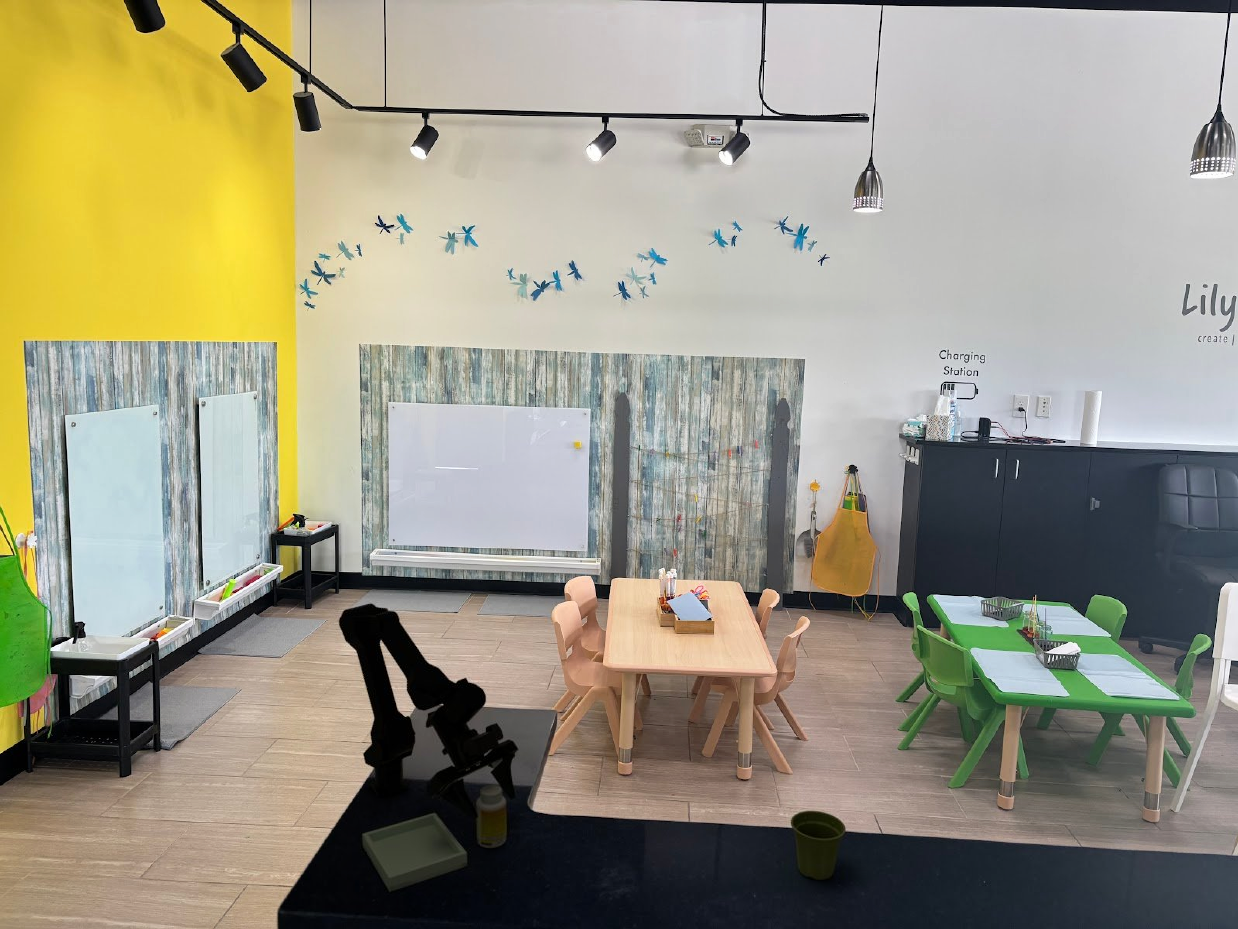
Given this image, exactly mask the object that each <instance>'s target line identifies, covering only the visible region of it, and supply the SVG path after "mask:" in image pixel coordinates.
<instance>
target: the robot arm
mask: <svg viewBox="0 0 1238 929" xmlns="http://www.w3.org/2000/svg"><path fill="white" fill-rule="evenodd" d="M400 621H401V620H400V617H399V614H398V613H397V611H394V610H389V609H388V607H379V606H376V605H375V604H373V603H367V604H363V605H358V606H355V607H354V606H353V607H350V608H347V609H346V608H345V609H344V610H343V611H342V612H341V616H340V617H339V619H338V626H339V628H340V630H341V633H342V635H343V638H344V641H345V642H346V643H347V644H348V645H349V646H350V647H352V648H353V650H355V652H356V656H357V658H358V662H359V666H360V670H361V673H362V678H363V681H364V684H365V689H366V692H367V695H368V699H369V703H370V707H371V711H372V715H373V722H372V725H371V730H370V732H369V733H370V735H369V736H370V740H371V741H370V742H371V744H370V745H369V746H368V747H367V748H366V750H365V751H364V752H363V754H362V755H363V760H364V763H365V764H366V765H367V766H369V767H371V768H373V769H374V779H375V780H374V781H370V783H369V786H370V787H371V788H372V790H373V792H374V793H375V794H376V796H377V797H378V798H381V797H385V796H389V795H393V794H398V793H401V792H405V791H408V790H409V789H410V786H409V785H408V784H407V782H406V781H405V780H404V762H403V760H404V759H405V758H408V757H411V756H412V755H413V750H414V746H415V744H416V731H415V730H414V727H413V722H412V719H411V717H410V716H409V715H406V716H405V715H404V714H403V713H402V712H401V711H399V709H398V706H397V705H398V704H397V701H396V698H395V694H394V691H393V686H392V683H391V679H390V676H389V672H388V669H387V664H386V661H385V658H384V654H383V650H382V647H381V643H382V644H383V645H384V646H385V648H386V650H387V651H388V652H389V654H390V656H391V657H392V658H393V660H394V661H395V663H396V665H397V667H398V668H399V669H400V671H401V672H402V674H403V676H404V677H405V679H406V692H407V694H408V695H409V698H410V699H411V700H410V701H411V703H412V705H414V707H415V708H416V709H417V710H419V711H423V712H425V711H428V710H430V709H433V708H436V707H438V706H439V707H438V708H437V709H436V710H433V711H431V712H428V713H427V718H426V722H425V727H426V728H427V729H429V728H431V727H433V729H434V730H435V733H436V735H437V736H438V738H439V740H440V741H441V742H440V743H441V744H442V746H443V747H444V748H443V749H442V750H441V753H442V755H443V756H446V755H448V758H449V759H450V760H451V762H452V764H453V765H450V766H448V767H446V768H442V769H441V770H439V771H437V772H436V773H435V774H434V775H433V776H432V777H431V778H430V779H429V780H428V781H427V783H426V792H427V794H428V796H429V798H430V799H434V798H435V797H437V799H438V801H439V800H444V801H445V802H448V803H449V804H450V805H453V806H455V807H456V808H458V809H459V810H460V811H461V812H463V813H464V814H466V815H468V817H470V818H472V819H473V820H475V821H476V818H478V814H477V812H476V808H475V807H476V806H474V803H473V802H472V800H471V798H470V796H469V795H468V792H467V791H466V789H465V782H464V778H465V777H466V776H469V775H471V774H472V773H475V772H478V771H479V770H481V769H483V768H485V767H488V768H491V769H492V770H491V771H490V773H491V775H492V777H493V778H494V779H495V781H496V782H497V783H498V786H500V787H501V789H502V791H503V792H504V793H505V795H506V796H507V797H508V798H509V799H510V800H512V801H513V800H514V799H515V798H516V793H515V787H514V782H513V777H512V769H511V768H512V762H513V759H515V757H516V753H517V752H518V751H519V748H518V746H517V744H516V743H515V742H514V741H513V740H512V739H506V740H505V741H502V740H503V739H504V732H503V730H502V728H501V727H500V726H499V724H498V722H496V723H493V724H489V725H487V726H486V727H485V731H484V732H482V733H478V732H479V731H477V730H476V729H475V728H472V729H471V728H470V727H469V726H468V723H469V722H470V721H471V720H472V719H473V718H474V717H475V716H476V715H477V714H478V713H479V712H480V710H482V709H483V708H484V706H485V705H486V702H487V696H486V692H485V690H484V689H483V688H482V687H480V686H479V685H477V684H476V683H474V682H469V681H468V679H467V677H463V678H461V679H458V680H457V681H456V682H454V681H453V680H451V679H449V677H448V676H447V675H446V673H444V672H443V671H442V670H441V668H439V667H438V666H435V665H433V664H431V663H429V661H428V660H427V659H426V658H425V656H424V655H423V654H422V652H421V651H420V650H419V648H418V647H417V645H416V643H415V642H414V641H413V639H412V637H411V636H410V635H409V633H408V632H407V630H406V628H404V626H403V625H402V624H403V623H401V622H400ZM499 741H501V742H500V743H499Z"/></svg>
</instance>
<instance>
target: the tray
mask: <svg viewBox="0 0 1238 929" xmlns="http://www.w3.org/2000/svg"><path fill="white" fill-rule="evenodd" d="M362 848H363V849H364V851H365V853H366V852H367V853H366V854H367V856H368V857H369V858H368V859H371V860H370V861H371V863H372V864H373V867H374V868H375V870H376V872H377V873H378V875H379V876H380V878H381V880H382V882H383V883H384V885H385V887H386V888H387V890H388V892H389V893H390V892H394V891H397V890H399V889H402V888H406V887H408V886H412V885H415V884H419V883H421V882H423V881H427V880H429V879H432V878H435V877H439V876H442V875H445V874H448V873H451V872H454V871H457V870H460V869H462V868H466V867H467V866H468V852H467V851H466V850H465V849H464V847H463V846H462V845H461V844H460V842H458V840H457V839H456V837H455V836H454V835H453V834H452V832H451V831H450V830H449V828H448V827H447V826H446V825H445V823H444V822H443V821H442V819H441V818H440V817H439V816H438V814H437V813H436V812H433V813H429V814H427V815H423V816H419V817H416V818H412V819H410V820H406V821H402V822H399V823H396V824H392V825H389V826H385V827H381V828H378V829H374V830H371V831H367V832H365V833H362ZM465 866H466V867H465Z"/></svg>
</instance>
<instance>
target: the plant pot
mask: <svg viewBox="0 0 1238 929" xmlns="http://www.w3.org/2000/svg"><path fill="white" fill-rule="evenodd" d="M790 826H791V828H792V831H793V834H794V836H795V845H796V855H797V857H796V858H797V865H798V866H797V868H798V870H799V872H800V873H801V874H802V875H803V876H804V877H806V878H808V877H810V878H813V879H814V880H818V881H822V880H827V879H830V878H831V877H832V876H833V875H834V872H835V868H836V862H837V858H838V852H839V847H840V843H841V841H842V840H843V837H844V836H845V833H846V829H847V828H846V826H845V824H844V823H843V821H842V820H841V819H840V818H838V817H836V816H835V815H833V814H830V813H827V812H824V811H819V810H803V811H800V812H797V813H795V814H794V815H793V816H792V817H791V819H790Z"/></svg>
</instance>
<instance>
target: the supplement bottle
mask: <svg viewBox="0 0 1238 929" xmlns="http://www.w3.org/2000/svg"><path fill="white" fill-rule="evenodd" d="M502 792H503V789H502V788H501V786H500V785H499V784H498V785H497V784H488V785H484V786H483V787H481V788H480V793H479V797H478V799H477V800H476V804H475V807H476V808H475V810H476V812H477V814H478V818H476V819H475V821H476V842H477V844H478V845H480V847H483V848H485V849H493V848H494V849H495V848H499V847H501V846H502V845H503V844H504V843H506V840H507V839H508V838H507V837H508V836H507V833H508V832H507V831H508V830H507V821H508V820H507V799H506V797H505V796H504V795H503V793H502Z"/></svg>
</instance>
